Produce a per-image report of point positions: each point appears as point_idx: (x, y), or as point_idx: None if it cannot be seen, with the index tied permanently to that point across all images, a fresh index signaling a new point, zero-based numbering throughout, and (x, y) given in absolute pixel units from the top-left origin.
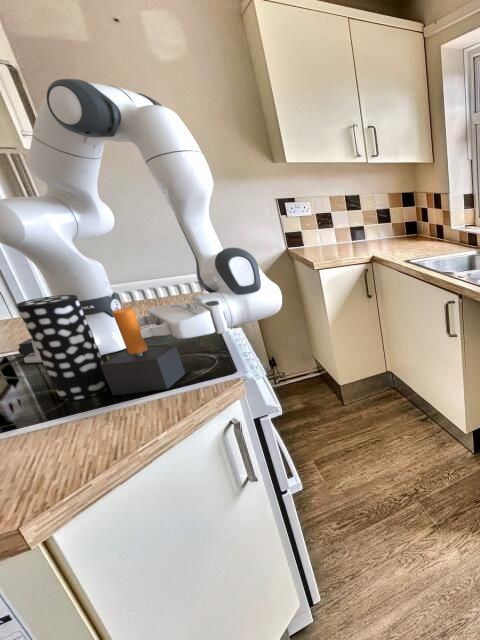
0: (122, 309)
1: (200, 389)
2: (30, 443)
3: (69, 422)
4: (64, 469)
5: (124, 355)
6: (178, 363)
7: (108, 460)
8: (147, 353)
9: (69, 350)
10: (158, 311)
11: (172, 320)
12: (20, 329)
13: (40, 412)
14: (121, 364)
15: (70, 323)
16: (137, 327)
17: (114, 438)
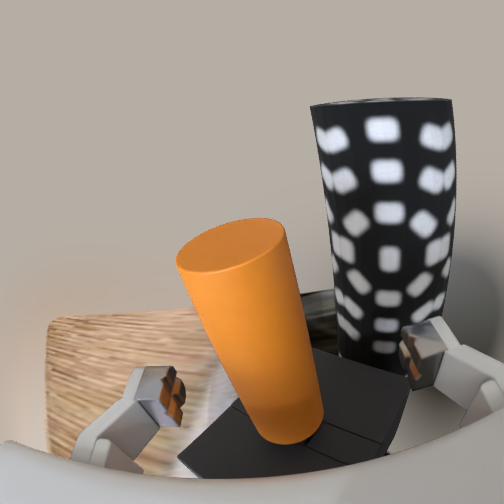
0: (250, 237)
1: None
2: (193, 319)
3: None
4: (86, 341)
5: (341, 386)
6: None
7: (57, 365)
8: (291, 448)
9: (332, 260)
10: (474, 458)
11: (33, 463)
12: None
13: (320, 314)
14: None
15: (334, 190)
16: (227, 367)
17: (94, 380)
